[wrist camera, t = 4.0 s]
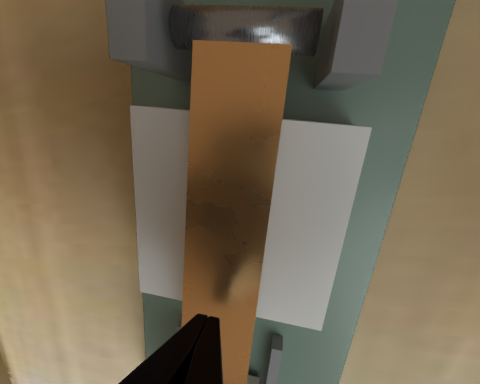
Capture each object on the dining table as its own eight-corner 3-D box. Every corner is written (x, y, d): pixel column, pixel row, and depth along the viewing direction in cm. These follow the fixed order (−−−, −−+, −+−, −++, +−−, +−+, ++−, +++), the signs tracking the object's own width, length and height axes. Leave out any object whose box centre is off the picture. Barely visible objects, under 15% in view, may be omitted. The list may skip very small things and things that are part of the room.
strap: (319, 18, 8) (325, -2, 6) (262, 382, 11) (259, 410, 10) (185, 14, 8) (168, -5, 7) (174, 359, 12) (162, 383, 11)
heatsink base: (454, -23, 9) (633, -171, 4) (323, 417, 17) (337, 533, 12) (134, -24, 11) (19, -128, 6) (151, 371, 19) (105, 455, 14)
